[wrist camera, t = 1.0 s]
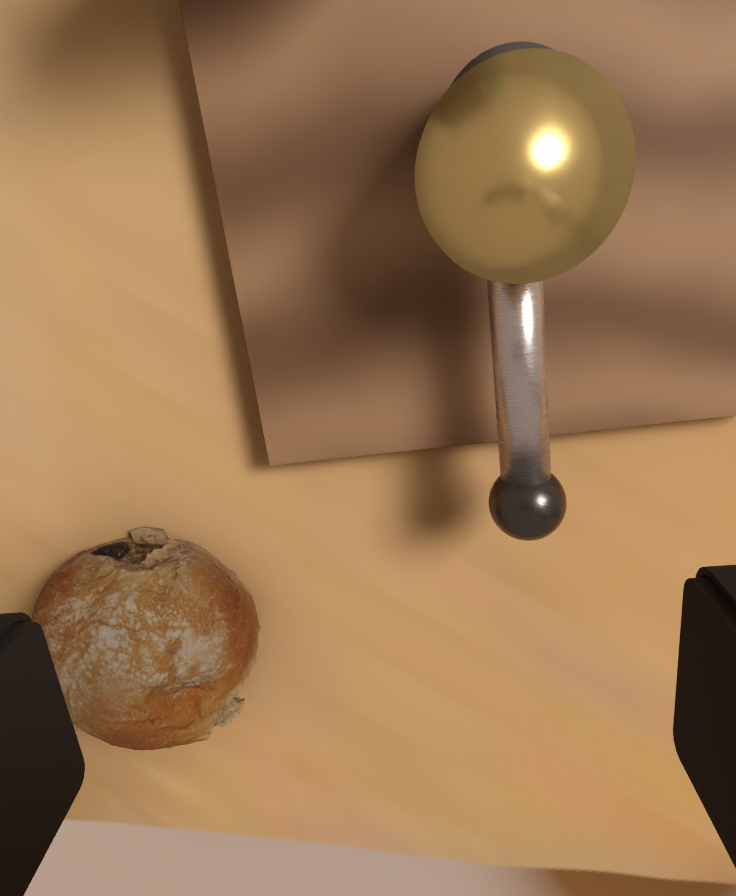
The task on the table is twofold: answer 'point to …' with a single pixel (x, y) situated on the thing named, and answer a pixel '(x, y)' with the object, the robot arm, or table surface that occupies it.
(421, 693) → the table surface
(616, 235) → the stand
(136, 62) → the table surface
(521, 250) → the lever
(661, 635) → the table surface
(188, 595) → the bread roll
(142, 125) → the table surface
